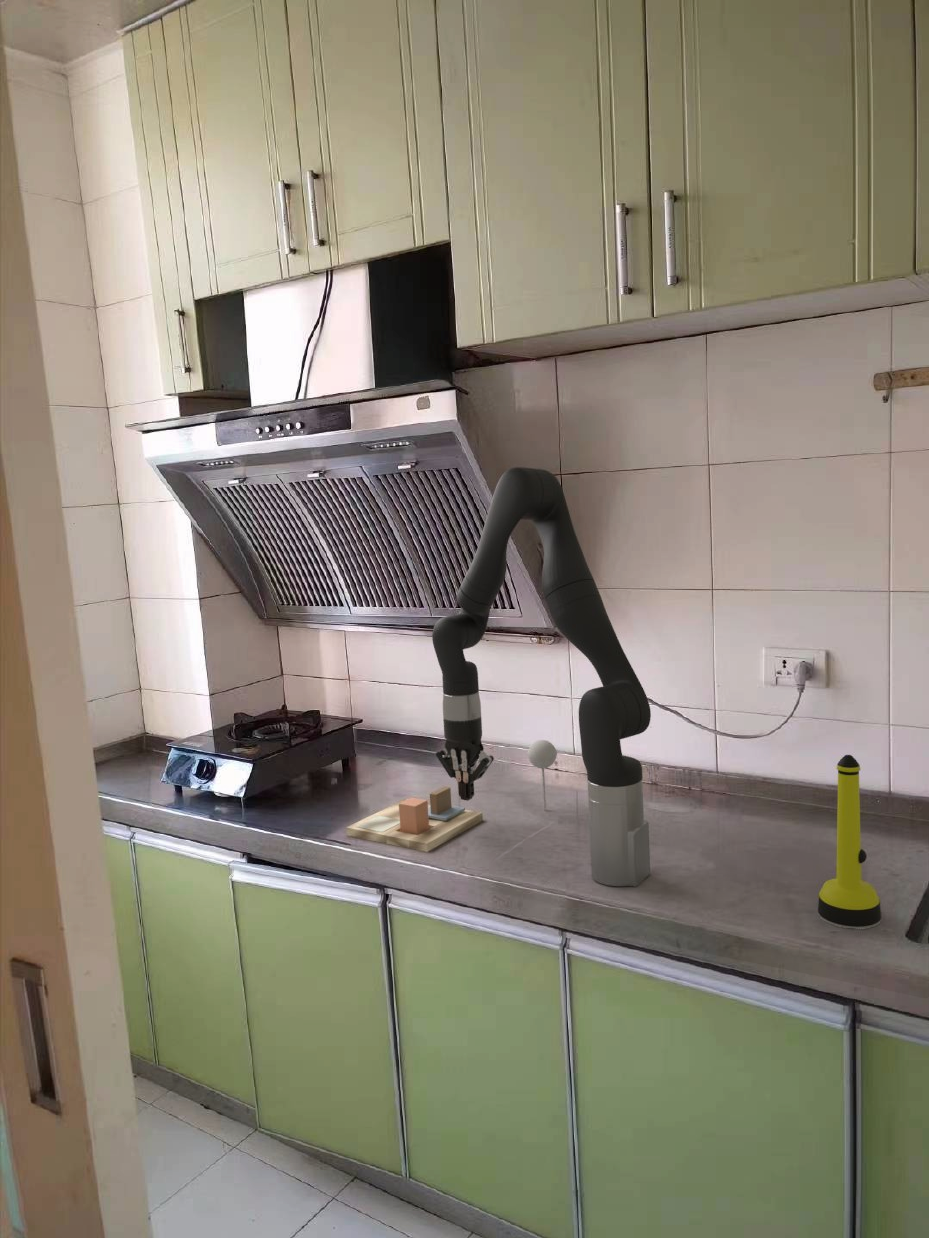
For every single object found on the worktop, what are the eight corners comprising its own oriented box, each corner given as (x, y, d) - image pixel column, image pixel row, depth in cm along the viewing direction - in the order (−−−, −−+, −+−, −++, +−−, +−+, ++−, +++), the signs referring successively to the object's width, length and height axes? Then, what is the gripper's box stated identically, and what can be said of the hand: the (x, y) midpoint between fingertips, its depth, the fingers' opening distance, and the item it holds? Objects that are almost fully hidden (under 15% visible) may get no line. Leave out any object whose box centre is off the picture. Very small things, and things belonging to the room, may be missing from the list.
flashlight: (810, 760, 137) (876, 766, 132) (822, 744, 145) (885, 749, 140) (812, 922, 140) (877, 933, 136) (823, 898, 148) (885, 909, 143)
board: (482, 821, 192) (482, 811, 191) (427, 853, 176) (426, 843, 176) (405, 807, 203) (404, 798, 203) (347, 836, 187) (346, 826, 187)
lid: (465, 809, 192) (463, 787, 192) (445, 820, 187) (444, 797, 186) (437, 805, 196) (436, 783, 196) (417, 815, 191) (415, 793, 190)
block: (429, 834, 185) (427, 800, 184) (417, 841, 182) (415, 806, 181) (413, 831, 187) (411, 797, 186) (401, 838, 184) (398, 803, 183)
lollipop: (564, 807, 197) (561, 737, 195) (552, 816, 192) (548, 745, 190) (537, 803, 201) (534, 735, 199) (525, 812, 196) (521, 742, 194)
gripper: (500, 713, 185) (504, 798, 187) (446, 707, 192) (450, 788, 195) (479, 722, 179) (484, 809, 181) (424, 715, 186) (428, 799, 188)
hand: (466, 798), depth 188 cm, fingers closed
